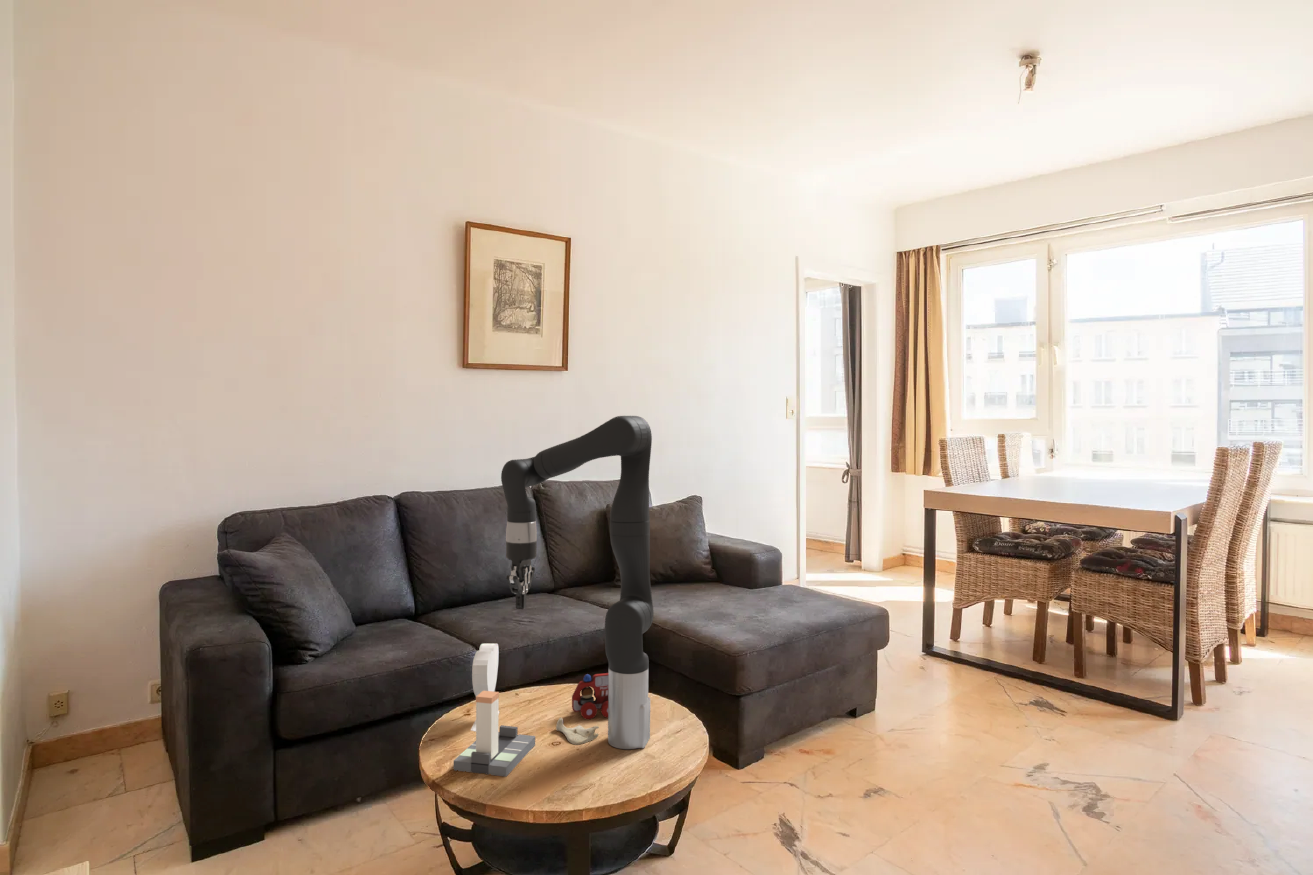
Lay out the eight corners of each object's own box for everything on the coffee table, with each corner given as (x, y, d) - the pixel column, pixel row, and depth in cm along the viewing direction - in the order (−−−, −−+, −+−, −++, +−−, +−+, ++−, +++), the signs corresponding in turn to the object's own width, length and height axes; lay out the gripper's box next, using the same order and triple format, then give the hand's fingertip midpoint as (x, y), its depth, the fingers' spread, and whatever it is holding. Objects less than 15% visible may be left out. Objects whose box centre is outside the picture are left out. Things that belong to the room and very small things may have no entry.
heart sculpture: (481, 708, 197) (481, 638, 197) (501, 708, 197) (501, 638, 197) (468, 733, 182) (469, 657, 181) (490, 733, 182) (490, 658, 181)
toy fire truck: (570, 710, 196) (570, 670, 196) (617, 706, 199) (618, 667, 199) (573, 721, 190) (574, 679, 189) (623, 717, 193) (623, 675, 192)
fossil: (577, 724, 188) (577, 710, 188) (600, 740, 179) (600, 725, 179) (552, 731, 184) (552, 717, 184) (574, 747, 175) (574, 732, 175)
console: (535, 744, 176) (535, 727, 176) (506, 776, 160) (506, 757, 160) (486, 739, 179) (486, 722, 178) (453, 769, 163) (453, 751, 163)
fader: (498, 752, 166) (498, 691, 166) (491, 759, 163) (491, 697, 163) (483, 750, 167) (483, 690, 167) (475, 757, 164) (475, 696, 163)
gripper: (525, 544, 184) (524, 616, 185) (545, 535, 197) (544, 603, 198) (496, 542, 186) (495, 614, 186) (517, 534, 199) (517, 601, 199)
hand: (520, 608), depth 192 cm, fingers closed
